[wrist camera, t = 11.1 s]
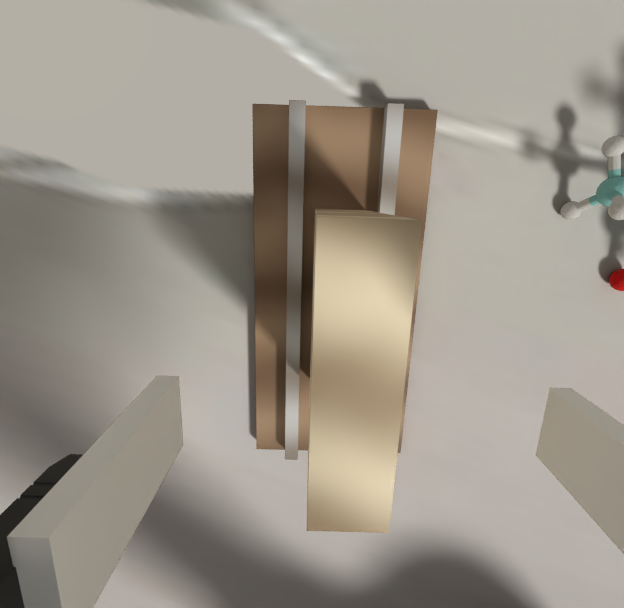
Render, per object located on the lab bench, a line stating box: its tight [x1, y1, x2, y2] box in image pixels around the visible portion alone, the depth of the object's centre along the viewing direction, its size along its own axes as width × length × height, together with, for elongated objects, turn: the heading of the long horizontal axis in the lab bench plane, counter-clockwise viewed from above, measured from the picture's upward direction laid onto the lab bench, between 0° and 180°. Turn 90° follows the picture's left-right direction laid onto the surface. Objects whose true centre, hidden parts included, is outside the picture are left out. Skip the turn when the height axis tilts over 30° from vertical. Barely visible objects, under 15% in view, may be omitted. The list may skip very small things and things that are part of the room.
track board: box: [253, 100, 437, 460], centre depth 28 cm, size 26×12×2 cm, turn 178°
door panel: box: [307, 209, 422, 533], centre depth 21 cm, size 13×4×14 cm, turn 178°
